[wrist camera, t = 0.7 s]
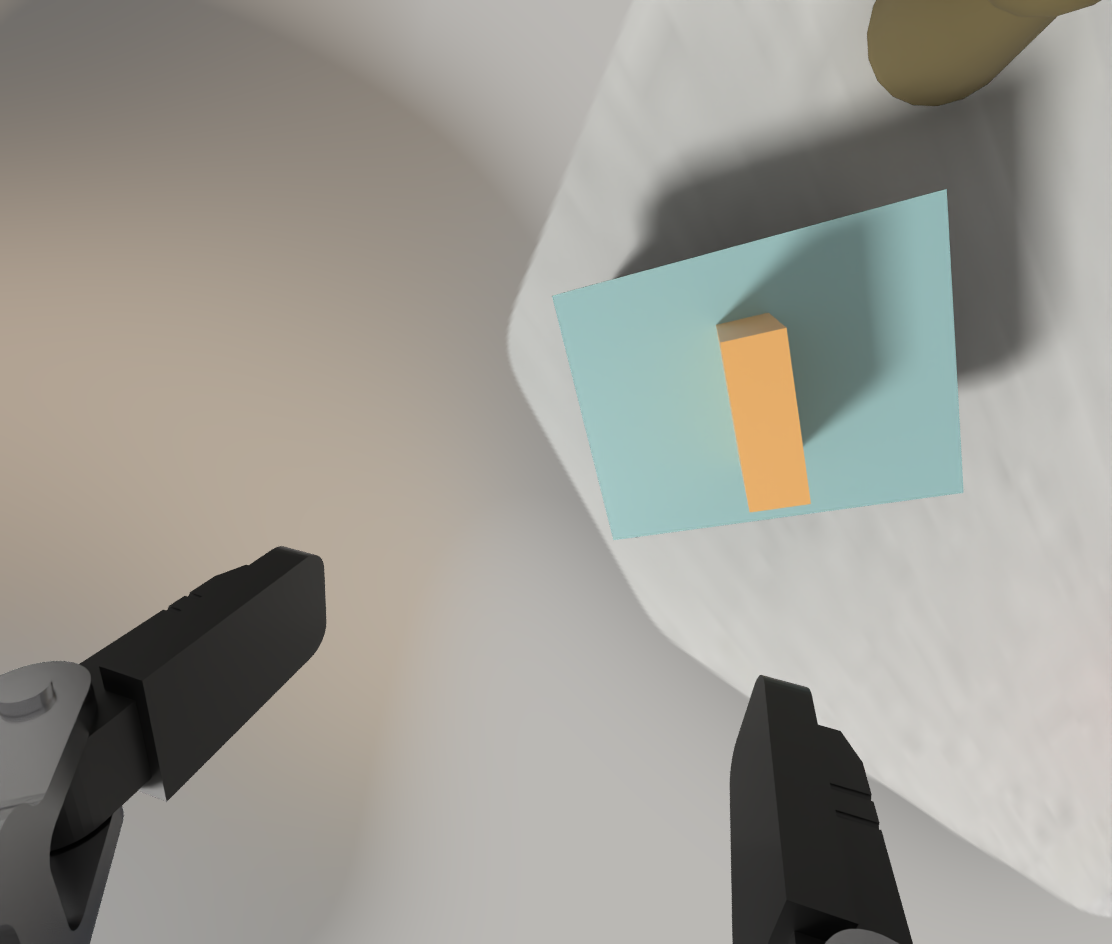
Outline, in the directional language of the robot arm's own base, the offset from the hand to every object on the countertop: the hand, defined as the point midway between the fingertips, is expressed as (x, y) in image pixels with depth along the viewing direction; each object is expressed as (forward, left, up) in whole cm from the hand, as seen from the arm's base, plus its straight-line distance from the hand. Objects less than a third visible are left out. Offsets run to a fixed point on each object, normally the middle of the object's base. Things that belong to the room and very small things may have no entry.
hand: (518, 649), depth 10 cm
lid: (-5, 0, -18) cm, 19 cm away
